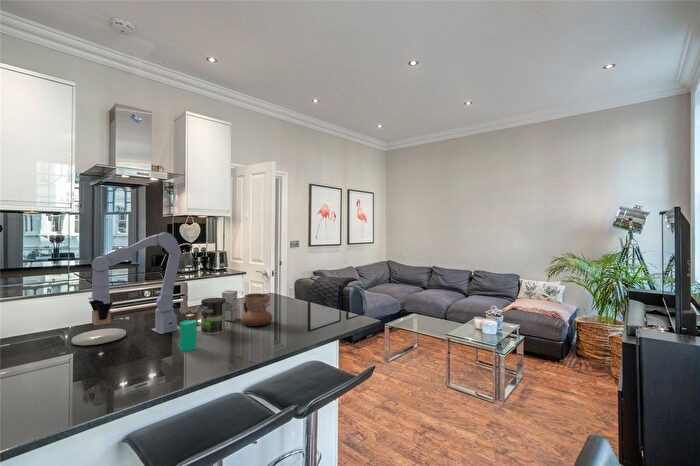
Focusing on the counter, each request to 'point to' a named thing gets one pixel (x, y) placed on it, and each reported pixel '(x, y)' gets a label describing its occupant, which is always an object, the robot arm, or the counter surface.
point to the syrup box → (230, 305)
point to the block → (97, 321)
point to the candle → (188, 335)
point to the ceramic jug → (256, 309)
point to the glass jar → (213, 315)
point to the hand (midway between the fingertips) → (100, 318)
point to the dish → (98, 336)
